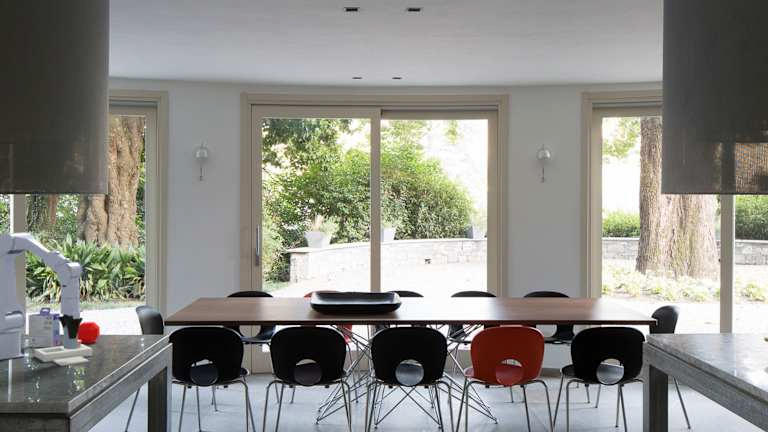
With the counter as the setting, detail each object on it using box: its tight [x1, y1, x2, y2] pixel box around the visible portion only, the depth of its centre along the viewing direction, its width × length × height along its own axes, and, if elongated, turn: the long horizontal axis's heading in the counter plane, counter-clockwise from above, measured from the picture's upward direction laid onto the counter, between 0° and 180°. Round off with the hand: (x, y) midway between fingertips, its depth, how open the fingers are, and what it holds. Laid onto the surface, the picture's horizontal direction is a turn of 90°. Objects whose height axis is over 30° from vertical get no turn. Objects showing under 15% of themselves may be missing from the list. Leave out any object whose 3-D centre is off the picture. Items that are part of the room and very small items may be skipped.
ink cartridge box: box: [27, 307, 61, 348], centre depth 274 cm, size 10×6×14 cm, turn 89°
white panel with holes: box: [34, 343, 93, 363], centre depth 256 cm, size 16×12×2 cm
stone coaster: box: [52, 356, 90, 367], centre depth 246 cm, size 9×9×1 cm
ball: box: [78, 321, 101, 344], centre depth 282 cm, size 8×8×8 cm
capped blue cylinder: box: [62, 325, 78, 349], centre depth 246 cm, size 4×4×8 cm
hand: (70, 337), depth 246 cm, fingers closed on capped blue cylinder, 4 cm apart
